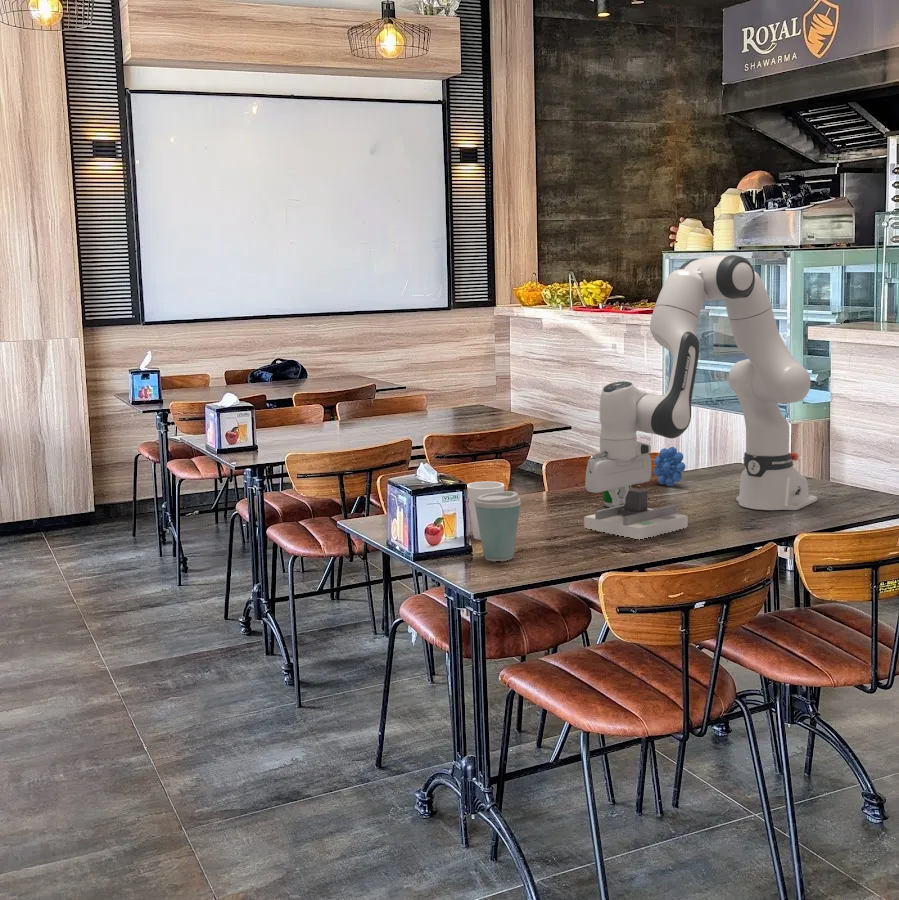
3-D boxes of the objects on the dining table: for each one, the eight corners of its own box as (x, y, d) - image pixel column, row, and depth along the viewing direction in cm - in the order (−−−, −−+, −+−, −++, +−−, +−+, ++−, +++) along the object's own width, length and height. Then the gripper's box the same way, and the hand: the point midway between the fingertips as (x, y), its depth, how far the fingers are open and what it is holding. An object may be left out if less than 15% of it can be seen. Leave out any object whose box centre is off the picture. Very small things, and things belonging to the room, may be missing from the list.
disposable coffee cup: (476, 565, 247) (474, 499, 245) (474, 552, 258) (473, 489, 255) (523, 563, 247) (522, 498, 245) (520, 551, 258) (519, 488, 255)
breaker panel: (632, 516, 289) (632, 497, 288) (687, 527, 275) (687, 507, 275) (584, 528, 278) (584, 508, 277) (639, 540, 264) (639, 520, 263)
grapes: (694, 487, 323) (694, 446, 321) (679, 490, 319) (679, 449, 317) (663, 481, 333) (664, 442, 331) (648, 485, 328) (648, 445, 326)
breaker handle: (631, 510, 280) (631, 486, 279) (653, 515, 275) (653, 490, 274) (618, 514, 277) (618, 489, 276) (639, 518, 272) (639, 493, 271)
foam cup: (467, 532, 277) (466, 481, 275) (504, 532, 277) (503, 480, 275) (467, 542, 268) (465, 489, 266) (505, 541, 268) (504, 488, 265)
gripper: (598, 456, 261) (598, 513, 263) (655, 445, 273) (655, 500, 276) (578, 453, 265) (579, 509, 268) (636, 442, 278) (636, 496, 280)
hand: (618, 504), depth 272 cm, fingers closed
